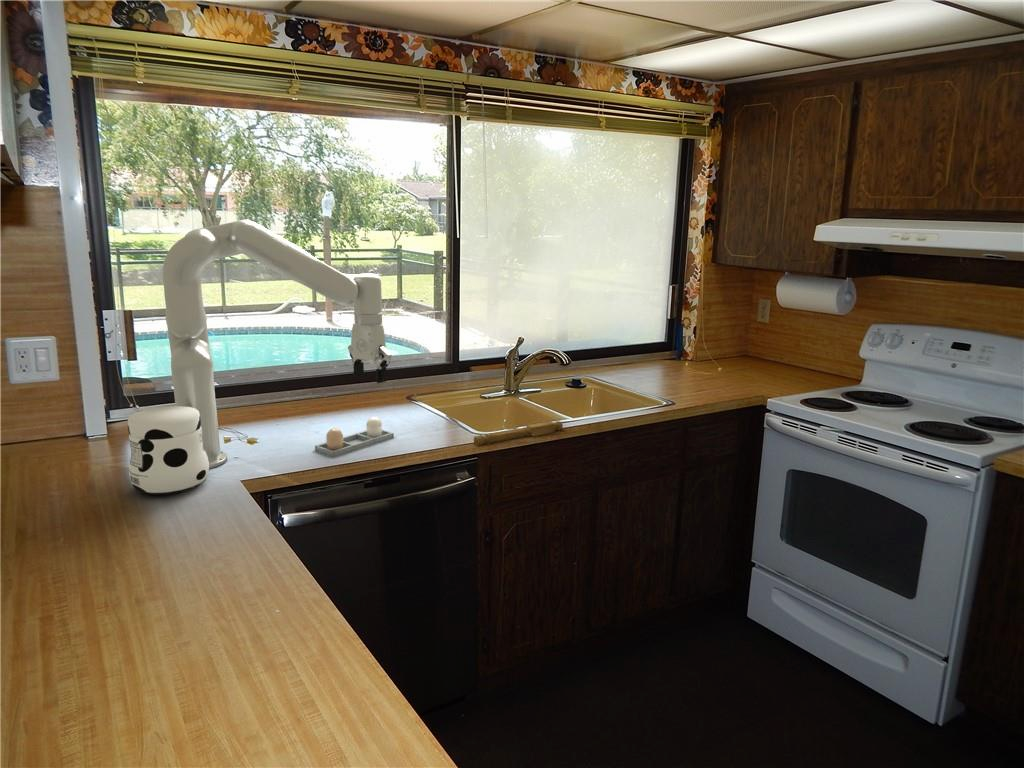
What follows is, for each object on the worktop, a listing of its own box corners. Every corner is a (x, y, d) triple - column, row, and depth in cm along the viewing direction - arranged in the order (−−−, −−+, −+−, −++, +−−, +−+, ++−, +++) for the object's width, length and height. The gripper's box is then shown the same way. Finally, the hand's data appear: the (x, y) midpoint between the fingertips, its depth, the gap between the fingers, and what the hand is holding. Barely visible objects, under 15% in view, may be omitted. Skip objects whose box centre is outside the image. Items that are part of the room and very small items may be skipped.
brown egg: (333, 454, 194) (332, 432, 193) (323, 450, 197) (322, 428, 195) (346, 450, 197) (345, 428, 196) (336, 446, 200) (335, 425, 199)
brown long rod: (473, 434, 207) (558, 419, 222) (473, 444, 208) (558, 428, 223) (478, 437, 204) (564, 421, 220) (478, 447, 205) (564, 431, 220)
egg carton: (332, 461, 191) (331, 453, 191) (311, 454, 197) (311, 446, 196) (397, 440, 209) (397, 432, 208) (376, 434, 214) (376, 426, 214)
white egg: (373, 441, 205) (373, 420, 203) (363, 437, 207) (362, 417, 206) (385, 437, 208) (385, 417, 207) (375, 434, 211) (374, 414, 209)
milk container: (221, 473, 182) (214, 404, 178) (194, 501, 166) (186, 426, 161) (151, 473, 182) (143, 404, 177) (117, 501, 165) (107, 426, 161)
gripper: (337, 317, 202) (339, 376, 206) (378, 324, 191) (380, 387, 195) (358, 314, 207) (360, 372, 212) (399, 321, 197) (400, 382, 201)
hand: (370, 379), depth 203 cm, fingers open, 9 cm apart
